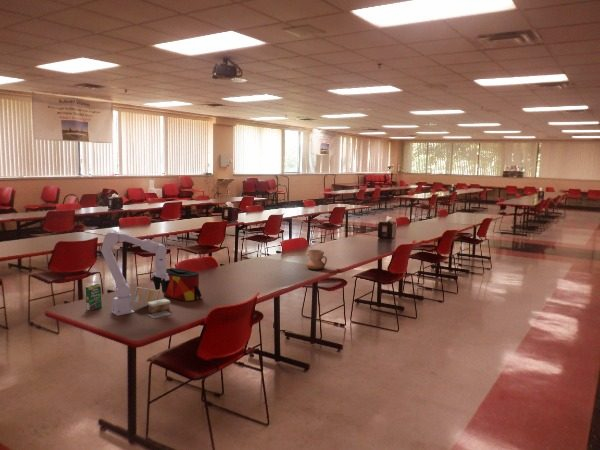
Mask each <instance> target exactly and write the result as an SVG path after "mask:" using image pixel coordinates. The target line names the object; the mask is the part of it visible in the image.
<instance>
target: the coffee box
mask: <svg viewBox="0 0 600 450" xmlns="http://www.w3.org/2000/svg"><path fill="white" fill-rule="evenodd" d="M101 285H102V284H100V283H95V284H93V285H88V286H86V287H85V286H84V287H85V288H84V290H85V303H86V304H85V305H86V311H88V310H89V312H91V311H94V310H97V309H100V308H102V306H103V304H102V302H103V301H102V289H101V288H102V286H101ZM93 309H94V310H93ZM90 310H91V311H90Z"/></svg>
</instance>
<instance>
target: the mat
mask: <svg viewBox="0 0 600 450" xmlns="http://www.w3.org/2000/svg"><path fill="white" fill-rule="evenodd" d="M147 315H148V317H150V318H152V319H159V318H163V317H168V316H172V315H173V314H172V313H171V312H169V311H168V310H167V311H162V312H158V313H153V314H152V313H149V314H147Z"/></svg>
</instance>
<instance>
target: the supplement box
mask: <svg viewBox="0 0 600 450" xmlns="http://www.w3.org/2000/svg"><path fill="white" fill-rule="evenodd" d="M160 293H161V290H156V289H152V288H148V287H147V288H146V287H140V286H136V289H135V292H134V295H133V297H132V298H133V299H132V301H133V302H135V303H136V304H137V303H139V304H144V305H145V304H146V305H148V304H147V302H151V301H156V300H159V296H160Z"/></svg>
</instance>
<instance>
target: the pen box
mask: <svg viewBox="0 0 600 450" xmlns="http://www.w3.org/2000/svg"><path fill="white" fill-rule="evenodd" d="M147 306H148V307H147V308H148V310H147V311H148V313H149V314H153V313H158V312H163V311H167V312H168V311H170V303H168V304H163V305H158V306H153V307H152V306H150V305H148V304H147Z"/></svg>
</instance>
